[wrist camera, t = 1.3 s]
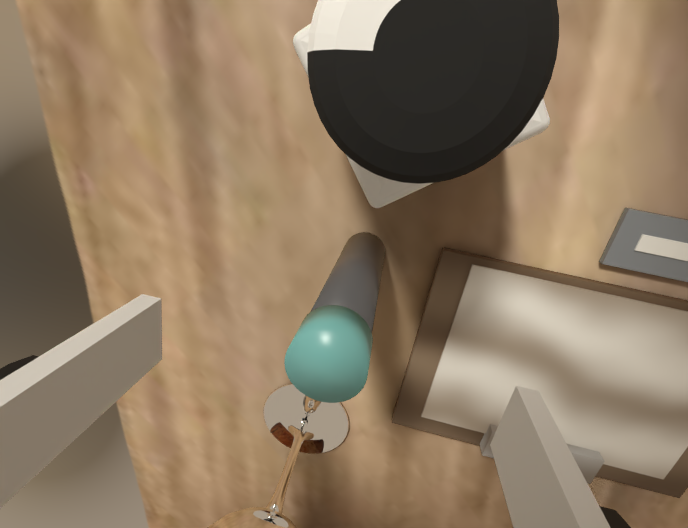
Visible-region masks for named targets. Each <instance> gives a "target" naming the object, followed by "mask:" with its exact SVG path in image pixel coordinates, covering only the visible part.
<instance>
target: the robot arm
mask: <svg viewBox="0 0 688 528" xmlns="http://www.w3.org/2000/svg"><path fill="white" fill-rule="evenodd" d="M161 359H162V310H161V298H157V297H153V296H148V295H144V294H142V295H140V296H138V297H137V298H135V299H133V300H132V301H130V302H129V303H127V304H125V305H124V306H122V307H120V308H119V309H117V310H115V311H114V312H112V313H110V314H109V315H107V316H105V317H104V318H102V319H100V320H99V321H97V322H96V323H94V324H92V325H91V326H89V327H88V328H86V329H84V330H82V331H81V332H79V333H77V334H76V335H74V336H72V337H71V338H69V339H68V340H66V341H64V342H63V343H61V344H59V345H58V346H56V347H54V348H53V349H51V350H50V351H48V352H46V353H45V354H43V355H41V356H39V357H38V356H34V355H32V356H30V357H27V358H24V359H21V360H18V361H16V362H13V363H10V364H8V365H6V366H5V367H3V368H1V369H0V508H1V507H2V506H3V505H4V504H5V503H7V502H8V501H9V500H10V499H11V498H12V497H13V496H14V495H15V494H16V493H17V492H18V491H19V490H20V489H22V488H23V487H24V486H25V485H26V484H27V483H28V482H29V481H30V480H31V479H33V478H34V477H35V476H36V475H37V474H38V473H39V472H40V471H41V470H42V469H43V468H44V467H46V465H48V464H49V463H50V462H51V461H52V460H53V459H54V458H55V457H56V456H57V455H58V454H59V453H60V452H62V451H63V450H64V449H65V448H66V447H67V446H68V445H69V444H70V443H72V442H73V441H74V440H75V439H76V438H77V437H78V436H79V435H80V434H81V433H82V432H83V431H84V430H86V429H87V428H88V427H89V426H90V425H91V424H92V423H93V422H94V421H95V420H96V419H98V417H100V416H101V415H102V414H103V413H104V412H105V411H106V410H107V409H108V408H109V407H110V406H112V405H113V404H114V403H115V402H116V401H117V400H118V399H119V398H120V397H121V396H122V395H124V394H125V393H126V392H127V391H128V390H129V389H130V388H131V387H132V386H133V385H134V384H135V383H137V382H138V381H139V380H140V379H141V378H142V377H143V376H144V375H145V374H146V373H147V372H148V371H150V370H151V369H152V368H153V367H154V366H155V365H156V364H157V363H158V362H159V361H160V360H161ZM490 446H491V449H492V453H493V457H494V460H495V464H496V467H497V471H498V475H499V478H500V482H501V485H502V489H503V493H504V496H505V500H506V503H507V507H508V511H509V514H510V518H511V521H512V525H513V528H631V527H630V526H629V525H628V524H627V523H626V522H625V520H624V519H623V518H622V517H621V516H620V515H619V514H618V513H617V511H616V510H612V509H608V508H604V507H601V506H599V505H598V503H597V501H596V499H595V497H594V495H593V493H592V491H591V489H590V488H589V486H588V484H587V482H586V480H585V478H584V476H583V474H582V472H581V470H580V469H579V467H578V465H577V463H576V461H575V459H574V457H573V455H572V453H571V451H570V450H569V448H568V446H567V444H566V442H565V440H564V438H563V436H562V434H561V432H560V431H559V429H558V427H557V425H556V423H555V421H554V419H553V417H552V415H551V413H550V412H549V410H548V408H547V406H546V404H545V402H544V400H543V398H542V396H541V394H540V393H539V391H536V390H532V389H528V388H523V387H519V386H516V387H515V389H514V392H513V394H512V396H511V398H510V401H509V403H508V405H507V407H506V410H505V412H504V414H503V416H502V419H501V421H500V423H499V426H498V428H497V430H496V432H495V435H494V437H493V439H492V441H491V444H490Z"/></svg>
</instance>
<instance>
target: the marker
mask: <svg viewBox="0 0 688 528" xmlns="http://www.w3.org/2000/svg"><path fill="white" fill-rule="evenodd" d="M384 257H385V248H384V245H383V243H382V241H381V240H380V239H379V238H378V237H377V236H375V235H373V234H371V233H366V232H363V233H358V234H355V235H353V236H352V237H351V238H350V239H349V240H348V241H347V243H346V245H345V247H344V249H343V251H342V253H341V255H340V257H339V258H338V260H337V262H336V264H335V266H334V268H333V270H332V272H331V274H330V276H329V278H328V279H327V281H326V283H325V285H324V287H323V289H322V291H321V293H320V295H319V297H318V299H317V301H316V302H315V304H314V306H313V308H312V310H311V312H310V313H309V314H308V315H307V316H306V317H305V319H304V320H303V322H302V324H301V326H300V328H299V329H298V331H297V333H296V335H295V337H294V339H293V341H292V342H291V344H290V346H289V348H288V350H287V352H286V356H285V369H286V373H287V375H288V378H289V379H290V381H291V382H292V384H293V385H294V386H295V387H296V388H297V389H298V390H299V391H300V392H301V393H303V394H304V395H306V396H308V397H309V398H312V399H314V400H317V401H321V402H327V403H337V402H343V401H346V400H349V399H351V398H353V397H354V396H356V395H357V394H358V393H359V392H360V391H361V390H362V389H363V387H364V385H365V383H366V380H367V375H368V369H369V362H370V356H371V350H372V343H373V338H372V328H373V322H374V316H375V310H376V304H377V299H378V293H379V287H380V281H381V275H382V269H383V263H384Z"/></svg>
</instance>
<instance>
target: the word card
mask: <svg viewBox="0 0 688 528" xmlns="http://www.w3.org/2000/svg"><path fill="white" fill-rule="evenodd" d="M599 262H600V263H602V264H605V265H610V266H614V267H619V268H624V269H628V270H633V271H638V272H643V273H647V274H652V275H657V276H661V277H666V278H671V279H675V280H680V281H685V282H688V220H685V219H680V218H675V217H670V216H665V215H660V214H655V213H650V212H645V211H640V210H635V209H630V208H625V209H624V211H623V213H622V215H621V217H620V219H619V222H618V224H617V226H616V228H615V230H614V232H613V234H612V236H611V238H610V240H609V242H608V244H607V246H606V248H605V250H604V253H603V255H602V257H601V259H600V261H599Z"/></svg>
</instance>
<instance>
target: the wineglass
mask: <svg viewBox="0 0 688 528" xmlns="http://www.w3.org/2000/svg"><path fill="white" fill-rule="evenodd" d="M263 413H264V420H265V423H266V425H267V427H268V429H269V431H270V432H271V433H272V435H273V436H274V437H275V438H276V439H277V440H278V441H280V442H281V443H282V444H284V445H286V446H287V447H289V448H291V449H290V452H289V455H288V458H287V460H286V463H285V466H284V469H283V471H282V474H281V477H280V480H279V482H278V485H277V487H276V490H275V492H274V494H273V496H272V498H271V500H270V502H269V503H268V505H267V506H266V508H263V507H251V508H246V509H242V510H239V511H235V512H232V513H229V514H227V515H225V516H224V517H222V518H221V519H219V520H218V521H216V522H215V523H213V524H212V525H210V526H209V527H207V528H297V527H296V526H295V525H294V524H293V522H292V521H291V520H290V519H288V518H287V517H286V516H284V515H283V514H282V512H283V504H284V499H285V494H286V491H287V487H288V484H289V481H290V478H291V475H292V472H293V469H294V466H295V463H296V460H297V457H298V454H299V451H300V452H304V453H317V454H318V453H324V452H328V451H330V450H333V449H334V448H336V447H338V446H339V445H340V444H341V443H342V442H343V441H344V439H345V438H346V436H347V433H348V430H349V420H348V415H347V413H346V411H345V408H344V407H343V405H342V404H341V403H340V402H337V403H327V402H321V401H317V400H314V399H312V398H309V397H308V396H306V395H304V394H303V393H301V392H300V391H299V390H298V389H297V388H296V387H295V386H294V385H293V384H292V383H291V384H287V385H283V386H281V387H279V388H277V389H276V390H274V391H273V392H272V393H271V394H270V395H269V396H268V397H267V400H266V402H265V404H264V410H263Z"/></svg>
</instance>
